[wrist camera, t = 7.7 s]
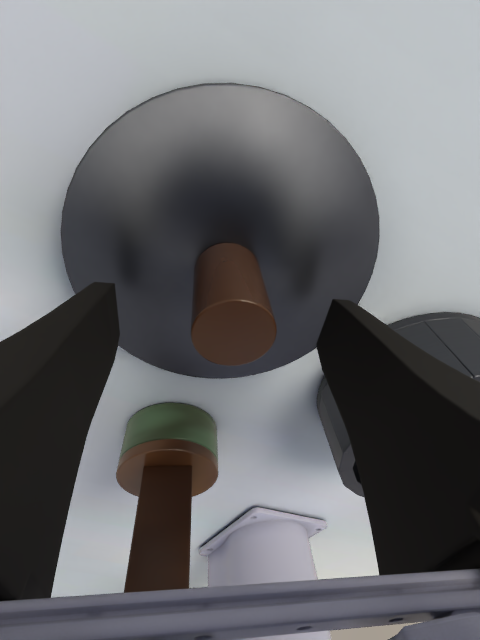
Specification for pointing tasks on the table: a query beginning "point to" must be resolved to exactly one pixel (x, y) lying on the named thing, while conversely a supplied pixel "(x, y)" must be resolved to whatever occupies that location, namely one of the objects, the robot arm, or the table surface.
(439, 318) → the tin
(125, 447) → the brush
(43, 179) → the table surface
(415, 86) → the table surface
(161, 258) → the tin lid
